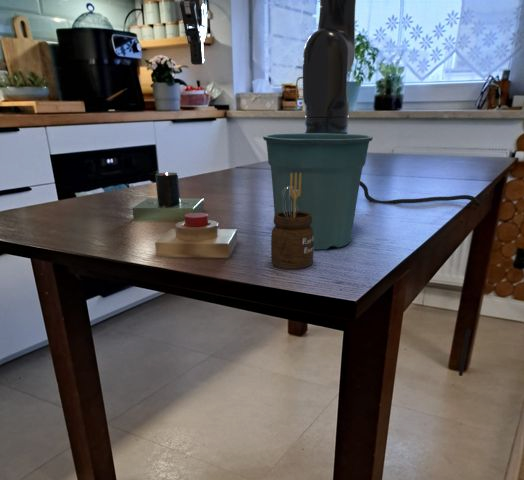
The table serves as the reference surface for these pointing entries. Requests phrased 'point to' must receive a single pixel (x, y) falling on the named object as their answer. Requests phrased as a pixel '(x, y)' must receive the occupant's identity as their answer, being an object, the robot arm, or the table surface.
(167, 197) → the black cylinder
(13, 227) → the table surface
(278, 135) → the flower pot
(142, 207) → the panel
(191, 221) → the button
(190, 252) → the button block
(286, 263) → the utensil holder
